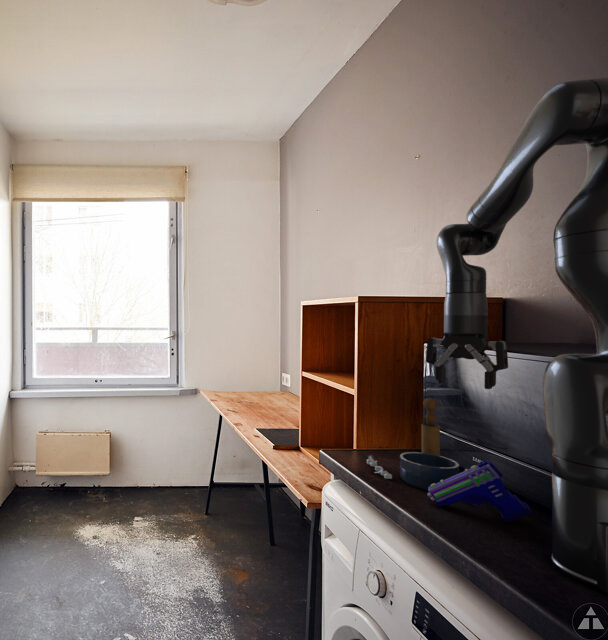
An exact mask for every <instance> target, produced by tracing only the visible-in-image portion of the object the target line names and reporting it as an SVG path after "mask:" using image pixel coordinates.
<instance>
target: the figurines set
mask: <svg viewBox="0 0 608 640" xmlns="http://www.w3.org/2000/svg"><path fill="white" fill-rule="evenodd" d="M374 458H375V456H373V455H372V454H371V455H368V459H366V464H367V465H369V466H370V467H373V468H374V470H375V471H374V474H379V475H381V476H383V478H384V479H385V480H388V479H389V480H393V474H391V473H389V472H388V470H384V468H383V466H381V465H378V460H375V459H374Z"/></svg>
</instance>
